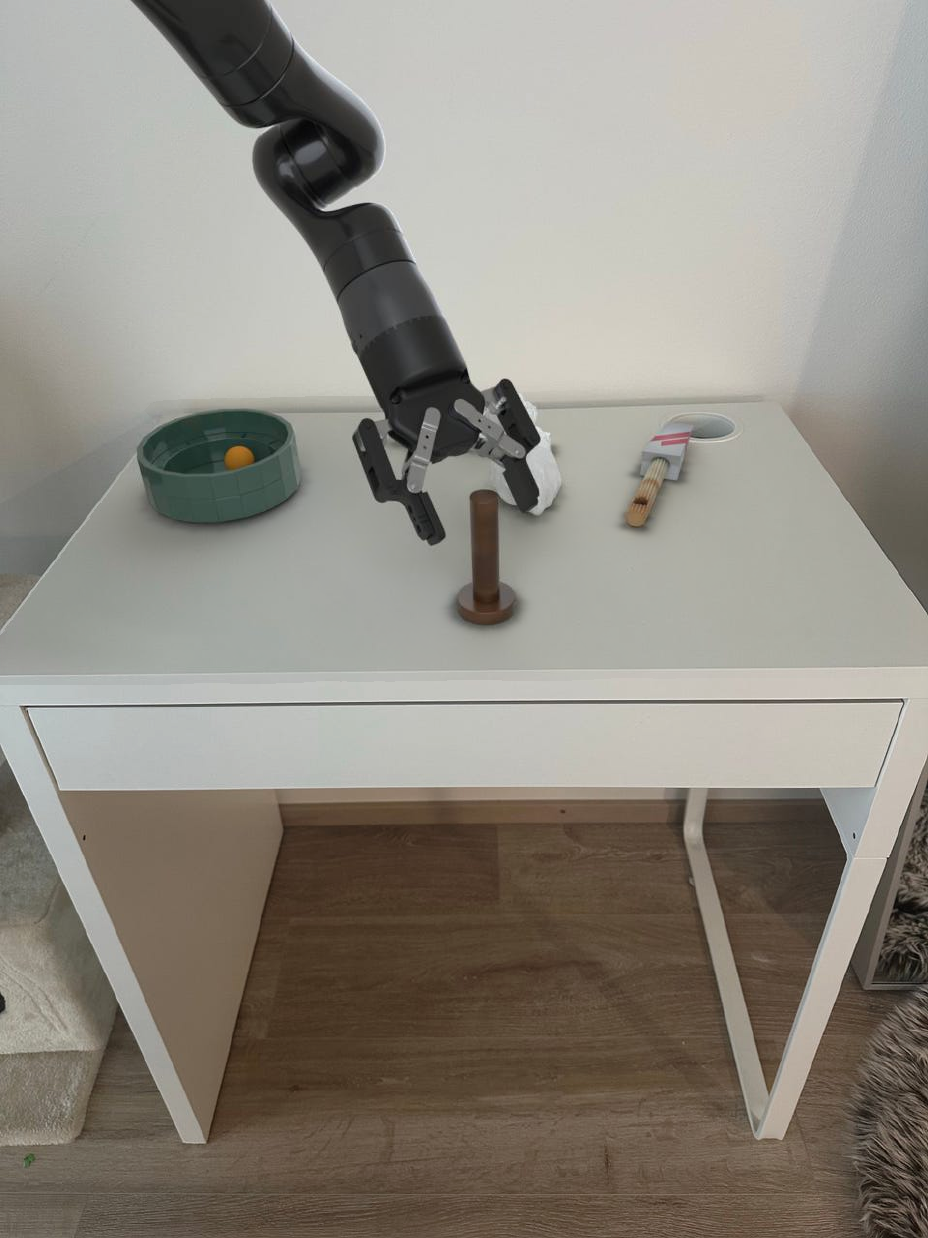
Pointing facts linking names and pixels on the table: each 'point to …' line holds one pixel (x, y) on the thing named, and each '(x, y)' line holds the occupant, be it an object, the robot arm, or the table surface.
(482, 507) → the wooden peg stand
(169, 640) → the table surface
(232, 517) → the bowl
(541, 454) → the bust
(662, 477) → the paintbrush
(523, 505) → the robot arm
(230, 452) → the bead
